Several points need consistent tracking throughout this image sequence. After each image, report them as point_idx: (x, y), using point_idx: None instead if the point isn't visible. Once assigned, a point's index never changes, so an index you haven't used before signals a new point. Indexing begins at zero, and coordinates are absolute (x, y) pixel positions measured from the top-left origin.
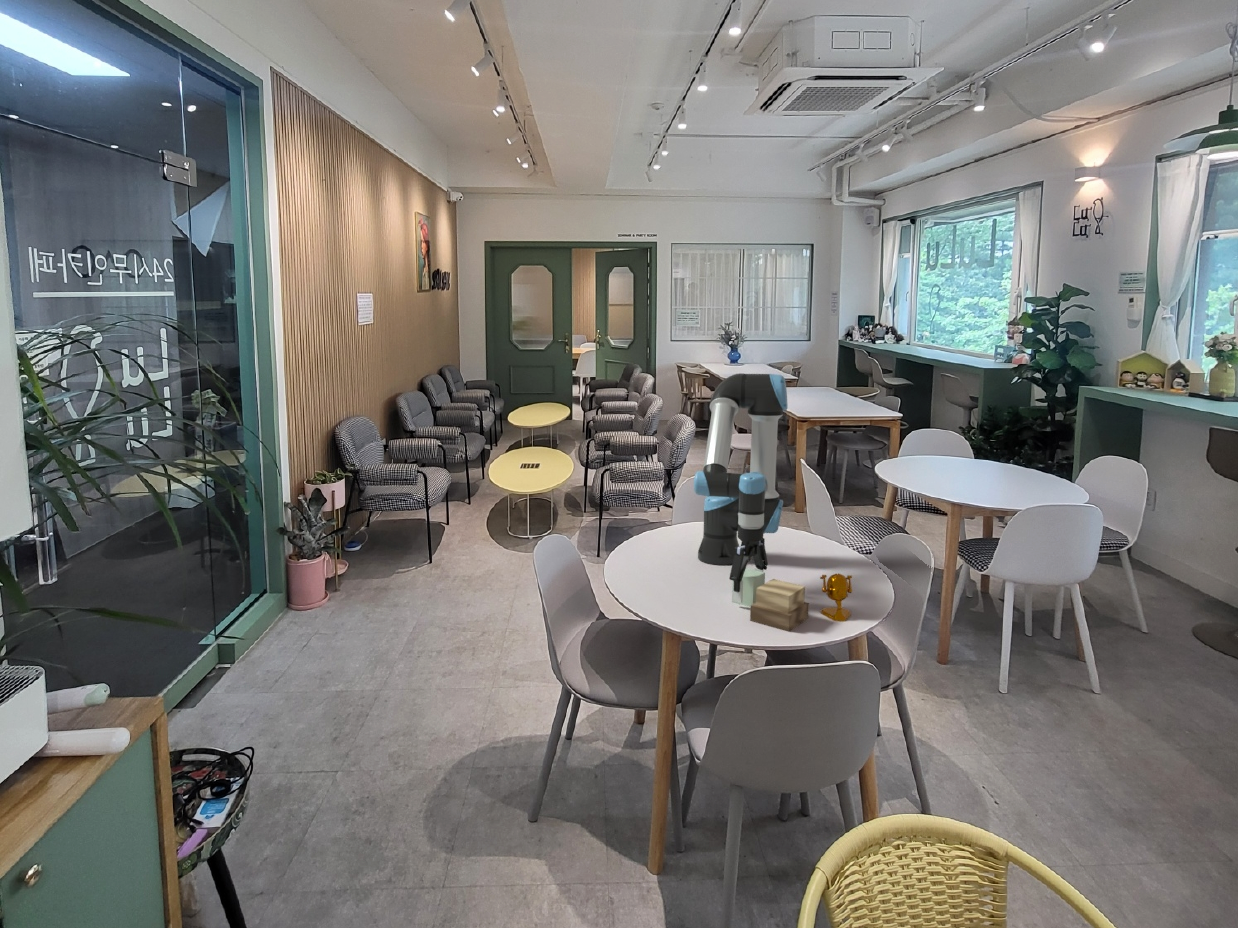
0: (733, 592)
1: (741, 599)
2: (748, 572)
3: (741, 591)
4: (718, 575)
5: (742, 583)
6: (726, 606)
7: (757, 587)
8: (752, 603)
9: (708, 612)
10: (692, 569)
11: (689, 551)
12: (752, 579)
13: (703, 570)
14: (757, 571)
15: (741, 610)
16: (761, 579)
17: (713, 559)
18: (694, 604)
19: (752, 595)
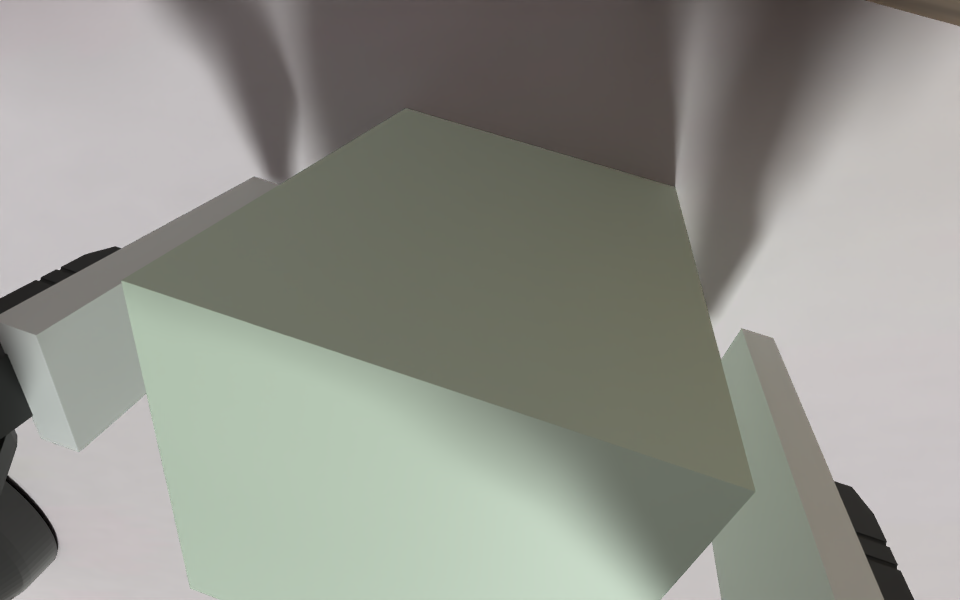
0: None
1: (781, 363)
2: (359, 558)
3: (818, 453)
4: (149, 488)
5: (856, 576)
6: None
7: (549, 257)
8: (680, 209)
9: (914, 526)
10: (176, 583)
11: None
12: (734, 487)
13: (147, 547)
14: (195, 430)
15: (809, 284)
16: (366, 268)
17: (12, 541)
18: None
19: (689, 263)
